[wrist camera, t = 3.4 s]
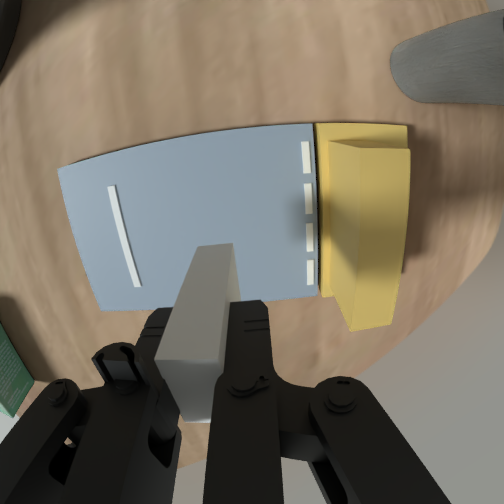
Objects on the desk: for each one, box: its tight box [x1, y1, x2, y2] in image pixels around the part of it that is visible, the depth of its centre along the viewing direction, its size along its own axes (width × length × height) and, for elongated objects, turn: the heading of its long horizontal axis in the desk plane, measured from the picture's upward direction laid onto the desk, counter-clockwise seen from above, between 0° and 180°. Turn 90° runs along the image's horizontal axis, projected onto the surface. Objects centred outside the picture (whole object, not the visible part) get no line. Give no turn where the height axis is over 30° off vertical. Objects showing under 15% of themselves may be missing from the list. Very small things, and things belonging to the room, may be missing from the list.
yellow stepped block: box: [314, 123, 410, 332], centre depth 14 cm, size 11×6×6 cm, turn 6°
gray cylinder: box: [390, 9, 504, 106], centre depth 9 cm, size 4×4×10 cm
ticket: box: [57, 124, 318, 311], centre depth 17 cm, size 11×16×1 cm
